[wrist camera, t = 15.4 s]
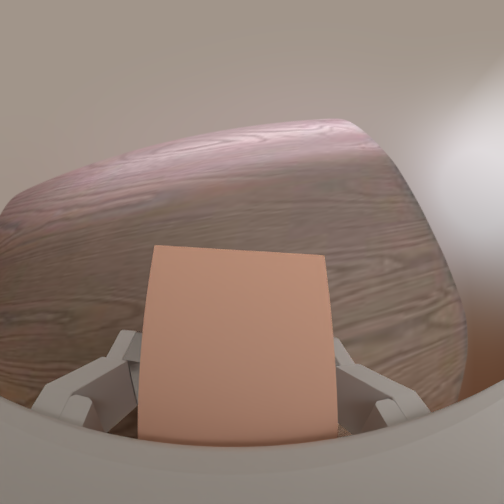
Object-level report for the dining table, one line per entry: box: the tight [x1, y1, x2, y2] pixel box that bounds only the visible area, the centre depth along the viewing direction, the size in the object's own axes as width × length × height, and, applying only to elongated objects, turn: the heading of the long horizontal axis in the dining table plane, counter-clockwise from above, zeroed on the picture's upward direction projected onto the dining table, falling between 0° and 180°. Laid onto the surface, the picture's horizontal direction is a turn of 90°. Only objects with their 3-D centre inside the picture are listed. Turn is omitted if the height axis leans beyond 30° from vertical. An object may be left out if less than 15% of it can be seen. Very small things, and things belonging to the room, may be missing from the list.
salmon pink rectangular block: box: [138, 245, 338, 447], centre depth 11 cm, size 4×5×14 cm
